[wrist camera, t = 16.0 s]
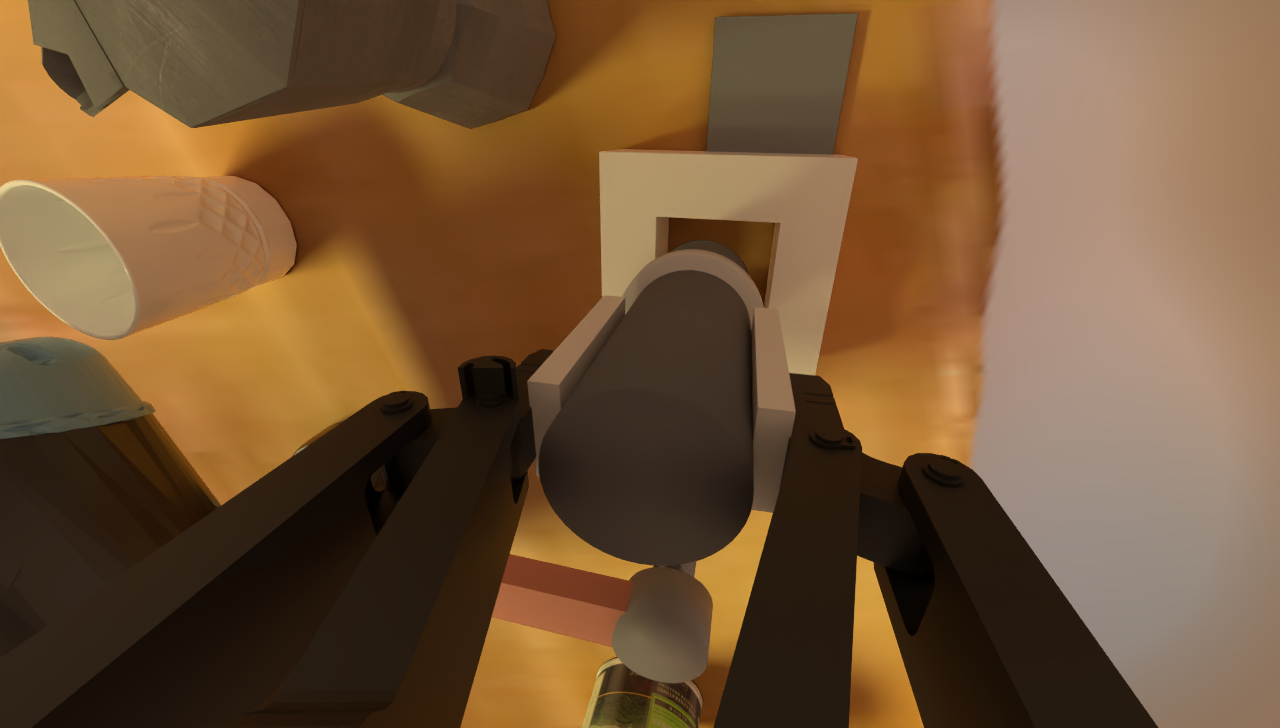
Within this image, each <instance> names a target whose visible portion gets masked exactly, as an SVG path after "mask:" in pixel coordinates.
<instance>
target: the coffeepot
mask: <svg viewBox="0 0 1280 728" xmlns="http://www.w3.org/2000/svg"><path fill="white" fill-rule="evenodd" d="M28 4H29V12H30V19H31V27H32V34H33V42H34V45H37V46H40V47H41V50H42V64H43V66H44V68H45V70H46V71H47V73H48V75H49V76H50V77H51V79H52V80H53V81H54V82H55V83H56V84H57V85H58V86H59V87H60V88H61V89H62V90H63V91H64V92H66V93H67V94H68V95H69V96H71V97H72V98H74V99H76V100H77V101H78V102H79V103H80V104H81V105H82V106H81V107H80V109H81V110H83V111H84V112H85V113H87V114H88V115H89V116H92V117H94V116H95V115H97V114H98V113H99V112H101V111H102V110H103V109H105V108H106V107H107V106H109V105H110V104H111V103H113V102H114V101H115V100H116V99H118V98H119V97H120V96H122V95H123V94H124V93H126V92H127V91H128V90H131V91H133V92H134V93H136V94H138V95H139V96H141V97H142V98H144V99H146V100H147V101H149V102H150V103H152V104H154V105H155V106H157V107H158V108H160V109H162V110H163V111H165V112H166V113H168V114H170V115H171V116H173V117H174V118H176V119H178V120H179V121H181V122H182V123H184V124H186V125H187V126H189V127H190V128H197V127H203V126H210V125H217V124H223V123H230V122H236V121H243V120H249V119H256V118H262V117H269V116H275V115H282V114H288V113H295V112H301V111H308V110H314V109H321V108H328V107H334V106H341V105H347V104H354V103H358V102H361V101H364V100H368V99H371V98H374V97H376V96H379V95H384V96H386V97H388V98H390V99H392V100H393V101H395V102H397V103H400V104H403V105H406V106H408V107H411V108H414V109H417V110H419V111H422V112H425V113H428V114H430V115H433V116H436V117H439V118H442V119H444V120H447V121H450V122H453V123H455V124H458V125H461V126H464V127H466V128H469V129H472V128H475V127H478V126H481V125H484V124H488V123H491V122H494V121H498V120H501V119H504V118H506V117H508V116H511V115H514V114H517V113H519V112H522V111H525V110H528V109H529V106H530V104H531V102H532V99H533V97H534V95H535V92H536V90H537V88H538V86H539V84H540V82H541V80H542V78H543V76H544V73H545V70H546V66H547V63H548V60H549V55H550V52H551V49H552V47H553V44H554V42H555V39H556V36H555V32H554V28H553V24H552V20H551V16H550V11H549V6H548V1H547V0H28Z"/></svg>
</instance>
